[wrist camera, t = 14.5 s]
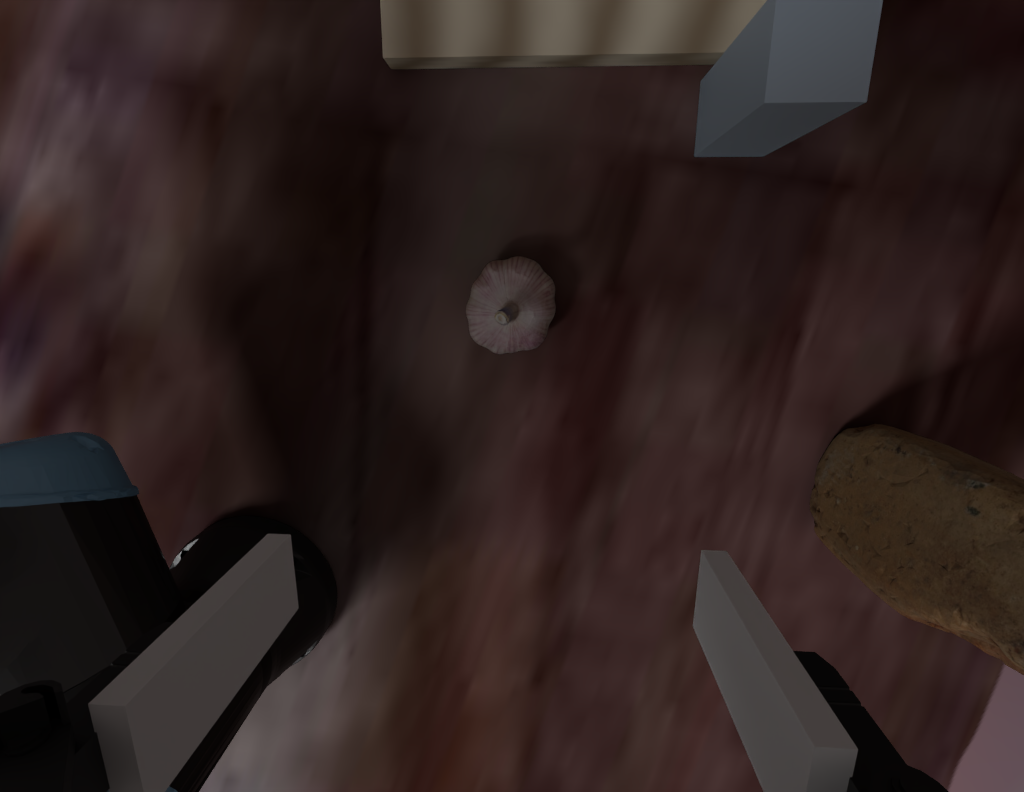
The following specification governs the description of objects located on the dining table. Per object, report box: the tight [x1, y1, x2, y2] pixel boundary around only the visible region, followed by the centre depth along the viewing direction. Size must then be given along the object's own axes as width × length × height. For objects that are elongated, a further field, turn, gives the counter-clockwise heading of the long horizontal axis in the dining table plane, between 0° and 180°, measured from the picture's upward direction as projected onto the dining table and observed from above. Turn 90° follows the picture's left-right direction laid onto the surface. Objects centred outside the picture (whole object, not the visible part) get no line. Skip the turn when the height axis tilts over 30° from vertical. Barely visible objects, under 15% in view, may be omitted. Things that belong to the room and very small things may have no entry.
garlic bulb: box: [466, 256, 556, 354], centre depth 36 cm, size 8×7×8 cm
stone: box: [810, 424, 1024, 675], centre depth 32 cm, size 11×8×20 cm
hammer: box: [694, 0, 883, 157], centre depth 29 cm, size 5×13×12 cm, turn 0°
